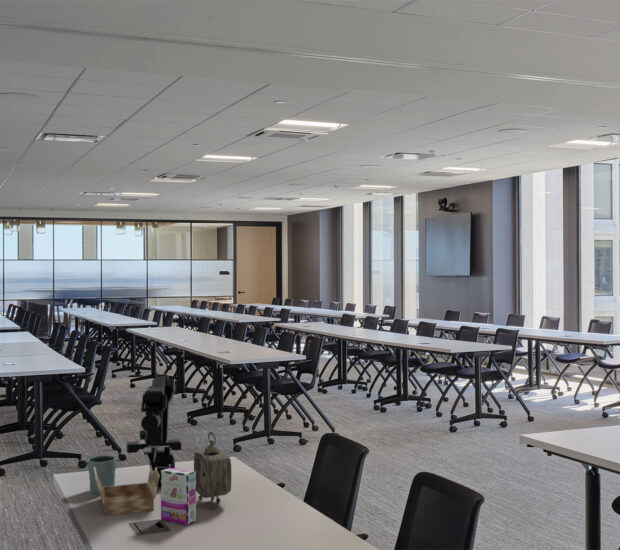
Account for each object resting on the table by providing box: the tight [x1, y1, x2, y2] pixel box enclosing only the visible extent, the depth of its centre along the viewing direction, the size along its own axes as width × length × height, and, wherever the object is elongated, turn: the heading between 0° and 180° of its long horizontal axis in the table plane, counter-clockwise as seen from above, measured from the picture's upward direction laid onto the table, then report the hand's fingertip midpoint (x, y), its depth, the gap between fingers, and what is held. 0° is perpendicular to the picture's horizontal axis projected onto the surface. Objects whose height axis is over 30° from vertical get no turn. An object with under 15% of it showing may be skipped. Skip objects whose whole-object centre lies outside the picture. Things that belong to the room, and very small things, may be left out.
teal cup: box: [87, 455, 117, 495], centre depth 273 cm, size 10×10×12 cm
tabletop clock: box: [193, 431, 232, 510], centre depth 258 cm, size 14×9×25 cm, turn 27°
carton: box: [101, 482, 155, 516], centre depth 257 cm, size 16×20×4 cm
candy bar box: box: [160, 467, 197, 526], centre depth 240 cm, size 11×5×16 cm, turn 62°
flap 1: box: [94, 467, 105, 505], centre depth 254 cm, size 8×19×1 cm
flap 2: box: [146, 466, 160, 500], centre depth 260 cm, size 8×19×1 cm
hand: (153, 470), depth 260 cm, fingers closed
